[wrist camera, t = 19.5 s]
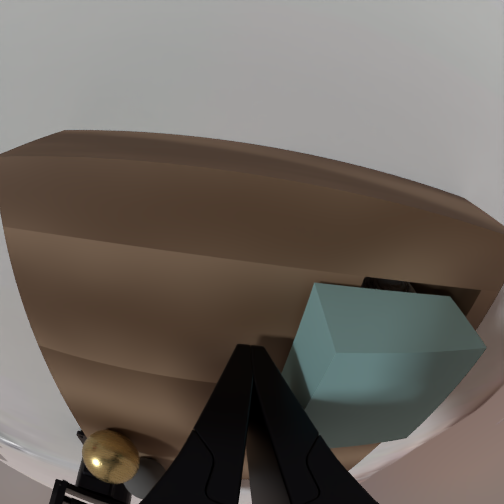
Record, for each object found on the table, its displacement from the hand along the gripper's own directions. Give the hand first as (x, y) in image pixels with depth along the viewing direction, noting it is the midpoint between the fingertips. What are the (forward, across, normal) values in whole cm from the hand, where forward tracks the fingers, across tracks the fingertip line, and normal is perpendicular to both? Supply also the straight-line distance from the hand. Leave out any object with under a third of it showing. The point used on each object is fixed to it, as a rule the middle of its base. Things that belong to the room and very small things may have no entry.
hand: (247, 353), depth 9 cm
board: (+5, -1, +5) cm, 7 cm away
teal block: (0, -4, 0) cm, 4 cm away
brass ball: (-1, +6, +10) cm, 11 cm away
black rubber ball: (-1, +4, +13) cm, 14 cm away
